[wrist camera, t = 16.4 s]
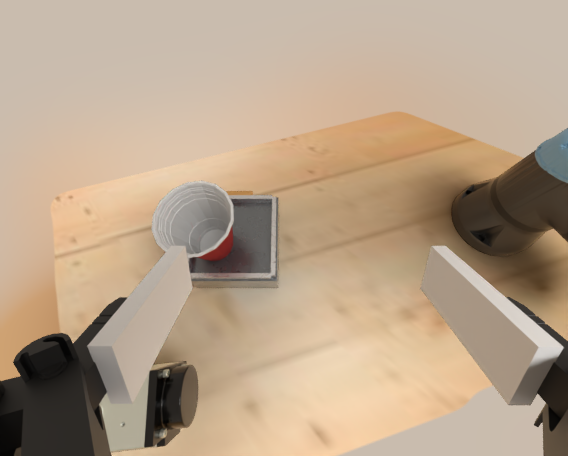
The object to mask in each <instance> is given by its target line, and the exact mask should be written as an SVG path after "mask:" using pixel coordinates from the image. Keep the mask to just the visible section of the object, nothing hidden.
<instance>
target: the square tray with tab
mask: <svg viewBox="0 0 568 456" xmlns="http://www.w3.org/2000/svg"><path fill="white" fill-rule="evenodd" d="M226 192H227V194H228V196H229V198H230V199H231V201H232V203H233V211H234V222H233V224H232V228H233V247H232V249H231V252H230V253H229V254H228V255H227V256H226V257H225V258H223V259H221V260H218V261H209V260H204V259H201V258H197V257H192V258H187V259H188V264H189V270H190V276H191V282H192V285H193V286H195V287H197V288H278V269H279V204H278V198H276V197H272V195H253V192H252V191H226Z"/></svg>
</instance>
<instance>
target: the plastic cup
mask: <svg viewBox="0 0 568 456" xmlns="http://www.w3.org/2000/svg"><path fill="white" fill-rule="evenodd" d="M233 222H234V211H233V203H232V201H231V199H230V198H229V196H228V194H227V192H226V191H224V190H223V189H222V188H220V187H219V186H218V185H216V184H213V183H209V182H205V181H195V182H188V183H185V184H183V185H180V186H178V187H176V188H174V189H172V190H171V191H170V192H169V193H168V194H167V195H166V196H165V197H164V198H163V199H162V200H161V201H160V202H159V204H158V206H157V208H156V210H155V212H154V214H153V221H152V232H153V235H154V238H155V241H156V244H157V245H159V246H160V247H161V248H162V249H163V250H164V251H165V252H166V251H167V250H168V249H169V248H170V246H185V247H186V253H187V258H192V257H197V258H201V259H204V260H209V261H218V260H221V259H223V258H225V257H226V256H227V255H228V254H229V253H230V252H231V249H232V247H233V228H232V224H233Z"/></svg>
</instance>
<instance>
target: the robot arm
mask: <svg viewBox="0 0 568 456" xmlns="http://www.w3.org/2000/svg"><path fill="white" fill-rule="evenodd" d="M452 219H453V223H454V226H455V228H456V230H457V231H458V233H459V234H460V236H461V237H462V238H463V239H464V240H465V241H466V242H467V243H468V244H469V245H471V246H472V247H473V248H475V249H477V250H479V251H481V252H483V253H486V254H489V255H493V256H509V255H512V254H515V253H518V252H521V251H524V250H525V249H527V248H529V247H530V246H531V245H532V244H533V243H534V242H535V241H537V240H538V239H539V238H540V237H541V236H542V235H543V234H544V233H545V232H546V231H548V230H551V229H553V228H554V229H555V230H556V231H557V232H558V233H559V234H560V235H561V236H562V237H563V238H564V239H565V240H566V241H567V242H568V128H567V129H565V130H564V131H562V132H561V133H559V134H558V135H556V136H555V137H553V138H551V139H549V140H546V141H545V142H543V143H542V144H541V145H539V146H538V148H537V149H536V150H535V151H534V152H532V153H531V154H530V155H528V156H527V157H525V158H524V159H522V160H521V161H520V162H518V163H517V164H515V165H514V166H513V167H511V168H510V169H508V170H507V171H505V172H504V173H503V174H501V175H500V176H499V177H496V178H493V179H490V180H486V181H483V182H479V183H476V184H474V185H472V186H470V187H468V188H467V189H465V190H464V191H463V192H461V193H460V194H459V195H458V196H457V197H456V199H455V201H454V203H453V206H452ZM191 290H192V282H191V276H190V270H189V264H188V259H187V253H186V247H185V246H170V248H169V249H168V250H167V251H166V252H165V254H164V255H163V256H162V257H161V258H160V260H159V261H158V262H157V263H156V264H155V266H154V267H153V268H152V269H151V270H150V272H149V273H148V274H147V275H146V276H145V278H144V279H143V280H142V281H141V282H140V284H139V285H138V286H137V287H136V288H135V290H134V291H133V292H132V293H131V294H130V296H129V297H128V298H118V299H117V300H115V301H114V302H112V303H111V304H109V305H108V306H107V307H106V308H105V309H104V310H103V311H102V312H101V314H100V315H99V317H97V318H96V319H95V320H94V321H93V322H92V324H91V325H90V326H89V327H88V328H87V329H86V330H85V331H84V332H83V333H82V335H81V336H80V337H79V338H78V339H77V340H76V341H75V342H74V343H72V341H71V339H70V337H69V336H68V335H66V334H63V333H59V334H51V335H48V336H45V337H42V338H40V339H38V340H36V341H34V342H32V343H31V344H29V345H27V346H26V347H25V348H23V349H22V350H21V351H20V352H19V353H18V354H17V355H16V357H15V359H14V362H13V363H14V365H15V367H16V368H17V370H18V372H19V373H20V375H21V376H20V377H16V378H12V379H8V380H4V381H0V456H111V452H110V447H109V442H108V438H107V433H106V428H105V423H104V419H103V414H102V409H101V407H100V405H99V404H100V402H101V401H102V399H103V397H104V396H105V394H106V393H107V396H108V398H109V400H110V403H111V404H133V402H134V400H135V398H136V396H137V394H138V393H139V391H140V389H141V387H142V385H143V383H144V381H145V379H146V377H147V375H148V373H149V371H150V369H151V367H152V365H153V364H154V362H155V360H156V358H157V356H158V354H159V352H160V350H161V348H162V346H163V344H164V342H165V340H166V338H167V337H168V335H169V333H170V331H171V329H172V327H173V325H174V323H175V321H176V319H177V317H178V315H179V313H180V311H181V310H182V308H183V306H184V304H185V302H186V300H187V298H188V296H189V294H190V292H191ZM421 290H422V291H423V292H424V294H425V295H426V296H427V298H428V299H429V300H430V302H431V303H432V304H433V306H434V307H435V308H436V310H437V311H438V312H439V314H440V315H441V316H442V318H443V319H444V320H445V322H446V323H447V324H448V326H449V327H450V328H451V330H452V331H453V332H454V334H455V335H456V336H457V338H458V339H459V340H460V342H461V343H462V344H463V346H464V347H465V348H466V350H467V351H468V352H469V354H470V355H471V356H472V357H473V359H474V360H475V361H476V363H477V364H478V365H479V367H480V368H481V369H482V371H483V372H484V373H485V375H486V376H487V377H488V379H489V380H490V381H491V383H492V384H493V385H494V387H495V388H496V389H497V391H498V392H499V393H500V395H501V396H502V397H503V399H504V400H505V401H506V403H507V404H508V405H531V403H532V402H533V400H534V398H535V397H536V395H537V393H538V394H539V395H540V396H541V398H542V399H543V400H544V401H545V402H546V404H545V406H544V408H543V409H542V411H541V413H540V414H539V416H538V418H537V419H536V421H535V424H534V425H535V426H537V427H539V425H540V424H541V423H543V450H544V456H568V341H567V340H565V339H564V338H563V337H562V336H561V335H559V334H558V333H557V332H556V331H554V330H553V329H552V328H551V327H550V326H548V325H547V324H545V322H544V321H542V320H541V319H540V318H539V317H536V316H535V314H534V313H533V312H531V311H530V310H529V309H528V308H527V307H525V306H524V305H522V304H521V303H519V302H517V301H515V300H513V299H512V298H510V297H505V296H504V295H502V294H501V293H500V292H499V291H498V290H497V289H495V288H494V287H493V286H492V285H491V284H490V283H488V282H487V281H486V280H485V279H484V278H483V277H481V276H480V275H479V274H478V273H477V272H476V271H474V270H473V269H472V268H471V267H470V266H468V265H467V264H466V263H465V262H464V261H463V260H461V259H460V258H459V257H458V256H457V255H456V254H454V253H453V252H452V251H451V250H450V249H449V248H447V247H446V246H431V248H430V252H429V256H428V260H427V264H426V268H425V272H424V276H423V280H422V284H421Z"/></svg>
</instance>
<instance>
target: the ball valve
mask: <svg viewBox="0 0 568 456" xmlns="http://www.w3.org/2000/svg"><path fill="white" fill-rule="evenodd" d="M197 400H198V378H197V373H196V369H195V368H194V366H192V365H186V361H182V362H173V363H164V364H155V365H152V367H151V369H150V371H149V373H148V375H147V377H146V379H145V381H144V383H143V385H142V387H141V389H140V391H139V393H138V394H137V396H136V398H135V400H134V402H133V404H111V403H110V400H109V398H108V396H107V393H106V394H105V396H104V397H103V399H102V401H101V402H100V404H99V405H100V407H101V409H102V414H103V419H104V423H105V428H106V433H107V438H108V442H109V447H110V452H111V453H112V452H120V451H128V450H136V449H144V448H152V447H161V446H166V445H167V444H168V443H169V442H170V441H171V440H172V439H173V438H174V437H175V436H176V435H177V434H178V433H179V432H180V428H187V427H189V426H190V425H191V423H192V421H193V419H194V416H195V412H196V407H197Z"/></svg>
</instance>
